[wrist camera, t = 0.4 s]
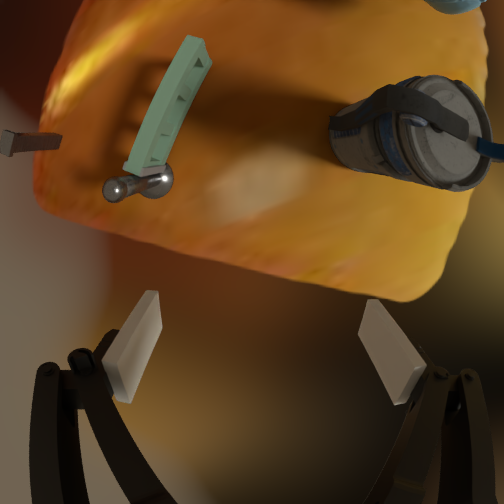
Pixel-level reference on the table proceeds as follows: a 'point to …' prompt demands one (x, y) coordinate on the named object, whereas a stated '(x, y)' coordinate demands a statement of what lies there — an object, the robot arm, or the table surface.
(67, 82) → the table surface
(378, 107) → the beverage bottle
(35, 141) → the post
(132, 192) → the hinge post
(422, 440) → the robot arm
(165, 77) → the gate
